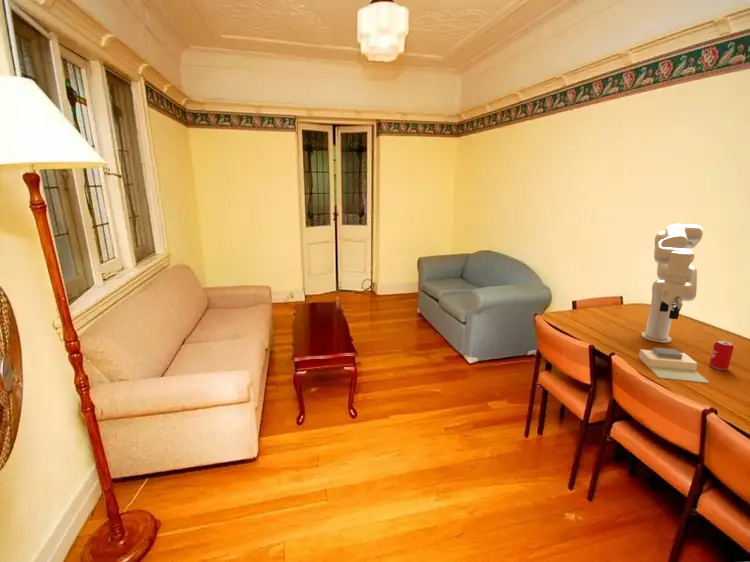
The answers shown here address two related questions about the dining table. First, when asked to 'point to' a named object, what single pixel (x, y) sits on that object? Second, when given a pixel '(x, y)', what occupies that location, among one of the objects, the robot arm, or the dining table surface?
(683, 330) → the dining table surface
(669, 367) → the block
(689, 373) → the mat
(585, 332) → the dining table surface
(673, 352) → the slate coaster
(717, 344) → the beverage can
